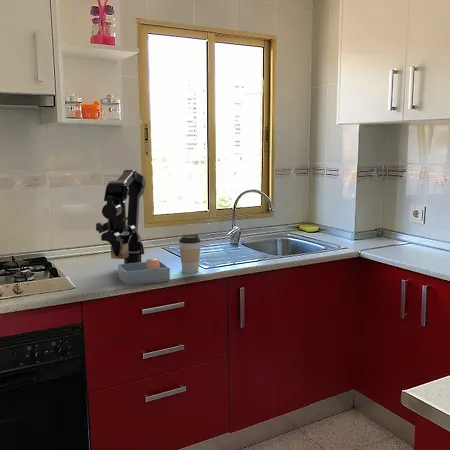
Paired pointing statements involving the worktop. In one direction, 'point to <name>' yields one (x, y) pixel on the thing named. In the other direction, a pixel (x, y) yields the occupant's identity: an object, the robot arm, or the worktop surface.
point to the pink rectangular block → (153, 263)
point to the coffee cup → (190, 253)
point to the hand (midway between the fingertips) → (119, 254)
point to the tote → (142, 273)
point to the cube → (121, 252)
